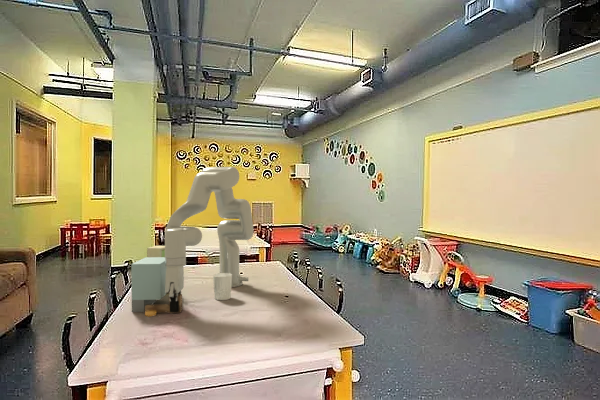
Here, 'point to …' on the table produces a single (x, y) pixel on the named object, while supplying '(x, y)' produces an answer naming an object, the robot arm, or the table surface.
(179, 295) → the brown boxy piece
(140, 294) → the cabinet
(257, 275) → the table surface
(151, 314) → the orange round disc
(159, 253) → the toy refrigerator
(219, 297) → the white cup
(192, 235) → the robot arm
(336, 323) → the table surface
